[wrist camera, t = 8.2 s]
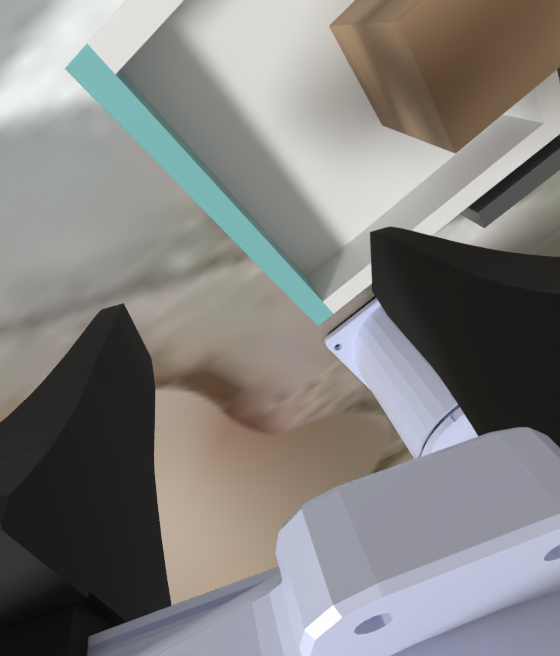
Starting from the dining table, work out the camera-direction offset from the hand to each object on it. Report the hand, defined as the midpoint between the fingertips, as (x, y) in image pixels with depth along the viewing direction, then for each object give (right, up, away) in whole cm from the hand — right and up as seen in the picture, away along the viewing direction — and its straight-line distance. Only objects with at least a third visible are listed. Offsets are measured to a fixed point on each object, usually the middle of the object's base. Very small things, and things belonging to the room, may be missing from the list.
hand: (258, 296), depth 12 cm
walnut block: (+6, +11, +5) cm, 13 cm away
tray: (+3, +9, +6) cm, 11 cm away
